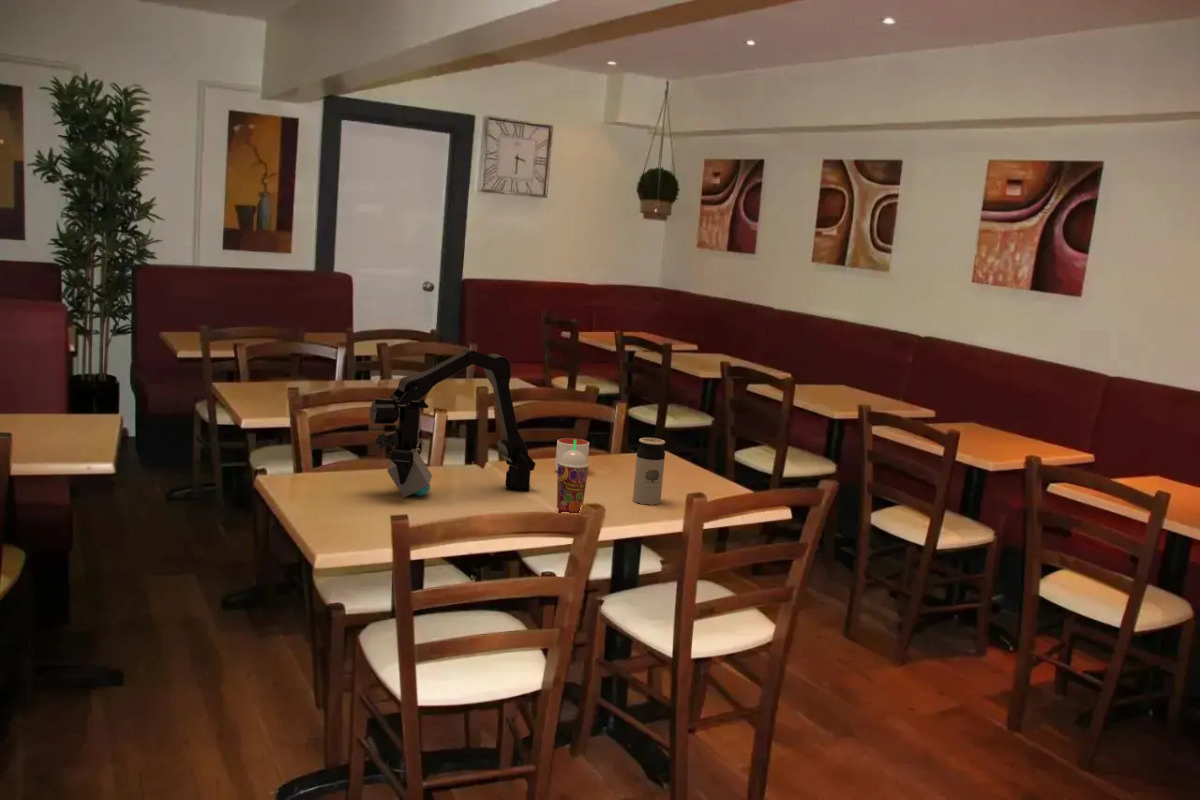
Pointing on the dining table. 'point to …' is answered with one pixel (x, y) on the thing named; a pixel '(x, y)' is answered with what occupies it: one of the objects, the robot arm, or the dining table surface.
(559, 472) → the smoothie
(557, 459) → the cup
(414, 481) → the grey matte cube
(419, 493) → the ball
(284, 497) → the dining table surface
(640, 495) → the travel mug
